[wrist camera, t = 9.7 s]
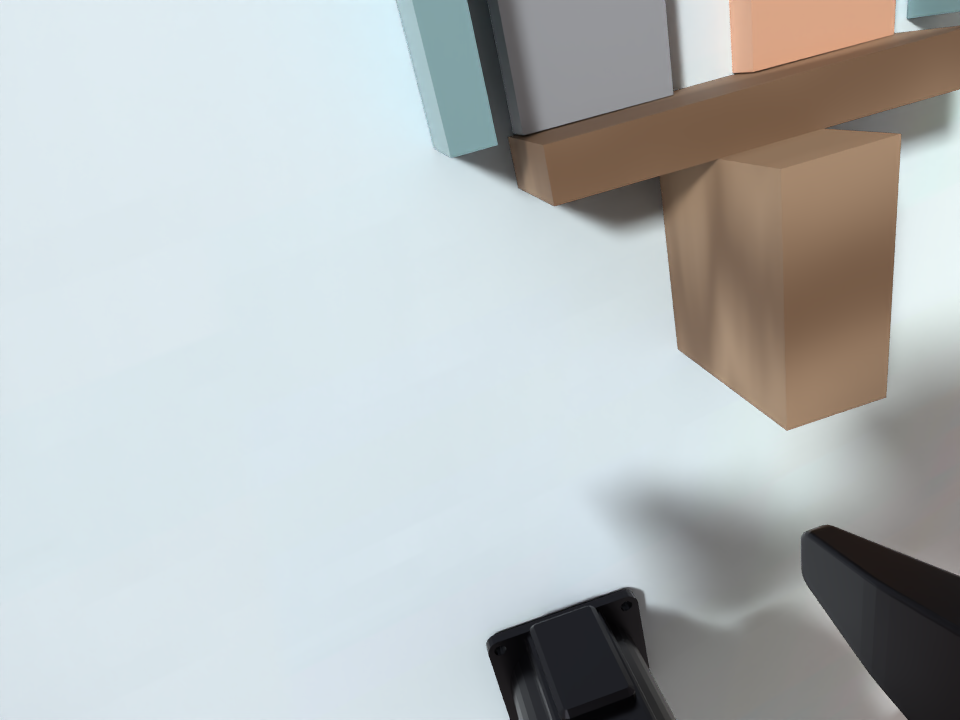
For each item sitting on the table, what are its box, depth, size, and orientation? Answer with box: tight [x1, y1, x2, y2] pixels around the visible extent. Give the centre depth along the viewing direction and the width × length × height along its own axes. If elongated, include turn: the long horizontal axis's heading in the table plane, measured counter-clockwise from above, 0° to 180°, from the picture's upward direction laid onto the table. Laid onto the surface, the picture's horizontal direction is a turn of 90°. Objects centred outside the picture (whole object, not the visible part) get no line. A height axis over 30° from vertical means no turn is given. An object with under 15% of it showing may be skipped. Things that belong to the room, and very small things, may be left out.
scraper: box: [508, 26, 960, 430], centre depth 18 cm, size 8×12×6 cm
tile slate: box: [487, 0, 673, 135], centre depth 17 cm, size 4×4×2 cm
